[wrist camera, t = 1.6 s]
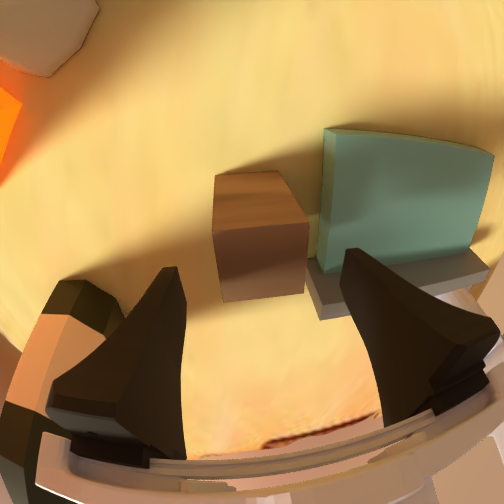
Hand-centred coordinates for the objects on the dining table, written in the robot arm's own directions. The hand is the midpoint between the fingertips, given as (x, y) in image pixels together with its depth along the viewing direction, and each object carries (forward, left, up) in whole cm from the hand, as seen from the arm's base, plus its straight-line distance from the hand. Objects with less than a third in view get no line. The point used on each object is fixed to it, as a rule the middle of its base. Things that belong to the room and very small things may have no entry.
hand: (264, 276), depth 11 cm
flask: (+15, +12, -8) cm, 21 cm away
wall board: (-1, -13, -8) cm, 15 cm away
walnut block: (0, 0, -8) cm, 8 cm away
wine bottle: (-9, +16, -8) cm, 20 cm away
